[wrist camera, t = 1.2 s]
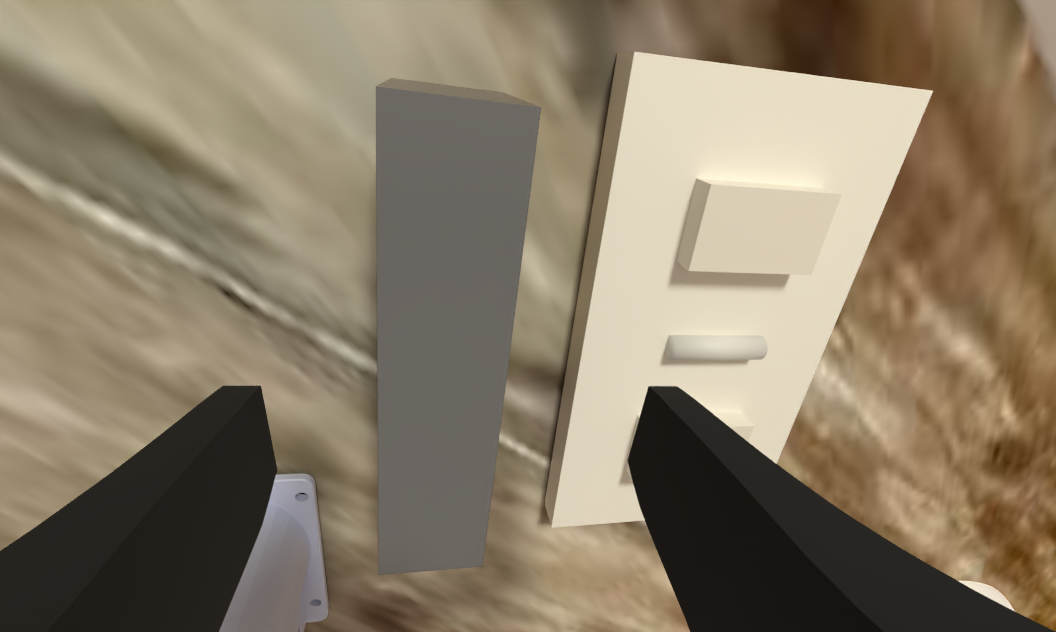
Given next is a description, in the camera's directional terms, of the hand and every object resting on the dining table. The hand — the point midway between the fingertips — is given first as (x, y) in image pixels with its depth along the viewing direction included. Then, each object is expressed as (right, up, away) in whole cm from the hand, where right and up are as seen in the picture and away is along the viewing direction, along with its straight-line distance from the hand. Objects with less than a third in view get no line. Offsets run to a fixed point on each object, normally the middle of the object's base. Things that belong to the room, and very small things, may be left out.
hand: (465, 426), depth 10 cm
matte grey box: (-2, +3, +10) cm, 10 cm away
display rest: (+8, +2, +12) cm, 15 cm away
